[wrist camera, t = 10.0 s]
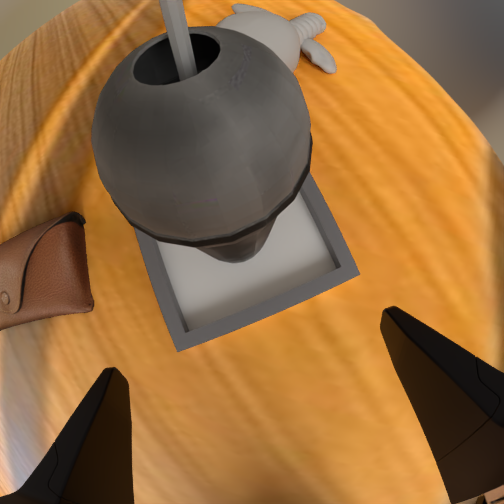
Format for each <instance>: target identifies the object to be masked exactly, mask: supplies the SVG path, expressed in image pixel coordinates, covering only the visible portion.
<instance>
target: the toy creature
mask: <svg viewBox="0 0 504 504" xmlns="http://www.w3.org/2000/svg"><path fill="white" fill-rule="evenodd" d="M232 9H233V11H234V12H235V13H236V14H233V15H230V16H228V17H226V18H224V19H223V20H222V21H220V22H219V23H218V24H217V25H216V26H215V27H220V28H226V29H231V30H235V31H238V32H240V33H243V34H245V35H247V36H249V37H251V38H253V39H255V40H257V41H259V42H261V43H263V44H264V45H266V46H267V47H268V48H270V49H271V50H272V51H273V52H274V53H275V54H276V55H277V56H278V57H279V58H280V59H281V60H282V61H283V62H284V63H285V64H286V66H287V67H288V68H289V69H290V70H291V72H292V73H293V72H294V70H295V69H296V67H297V64H298V61H299V57H300V48H301V50H302V52H303V53H305V55H306V56H307V57H308V58H309V59H310V60H311V62H312V63H313V64H316V65H318V66H320V67H321V68H322V69H323V70H324V71H325V72H326V73H329V74H333V73H335V72H336V70H337V67H336V64H335V61H334V58H333V57H332V55H331V54H330V53H329V52H328V51H327V50H326V49H325V48H324V47H323V46H322V45H321V44H319V43H318V42H316V41H314V40H313V38H314V37H316V35H317V34H320V33H322V32H324V30H325V29H326V22H325V20H324V19H323V18H322V17H321V16H320V15H318V14H315V13H305V14H303V15H300V16H298V17H296V18H294V19H292V20H290V21H288V20H286V19H285V18H283V17H281V16H279V15H276V14H273V13H271V12H269V11H267V10H265V9H262V8H259V7H254V6H250V5H245V4H234V5H233V6H232Z"/></svg>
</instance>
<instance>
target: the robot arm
mask: <svg viewBox="0 0 504 504" xmlns="http://www.w3.org/2000/svg"><path fill="white" fill-rule="evenodd" d="M380 330H381V333H382V336H383V338H384V341H385V344H386V346H387V349H388V352H389V355H390V357H391V360H392V363H393V366H394V368H395V371H396V373H397V375H398V377H399V379H400V381H401V383H402V385H403V387H404V389H405V392H406V394H407V396H408V398H409V400H410V402H411V405H412V407H413V409H414V411H415V413H416V416H417V418H418V420H419V422H420V425H421V427H422V429H423V432H424V434H425V436H426V439H427V441H428V443H429V446H430V448H431V451H432V453H433V456H434V458H435V461H436V464H437V466H438V469H439V471H440V474H441V477H442V479H443V482H444V485H445V488H446V490H447V493H448V496H449V499H450V502H451V504H456V503H459V502H462V501H465V500H468V499H471V498H474V497H476V496H479V495H481V494H482V495H481V496H479V497H478V499H477V501H476V504H504V373H503V372H501V371H499V370H497V369H495V368H494V367H492V366H491V365H489V364H487V363H486V362H484V361H483V360H481V359H480V358H478V357H475V355H473V354H472V353H470V352H469V351H467V350H465V349H464V348H462V347H461V346H459V345H458V344H456V343H454V342H453V341H451V340H450V339H448V338H447V337H445V336H443V335H442V334H440V333H439V332H437V331H435V330H434V329H432V328H431V327H429V326H427V325H426V324H424V323H423V322H421V321H419V320H418V319H416V318H414V317H413V316H411V315H410V314H408V313H406V312H405V311H403V310H401V309H400V308H398V307H396V306H391V307H388V308H385V309H384V310H383V312H382V318H381V323H380ZM0 504H134V493H133V475H132V422H131V409H130V396H129V384H128V381H127V379H126V378H125V377H124V376H123V375H122V374H121V372H120V371H119V370H118V369H117V368H115V367H111V368H105V369H104V370H103V371H102V373H101V374H100V376H99V377H98V378H97V380H96V381H95V383H94V384H93V385H92V387H91V388H90V390H89V391H88V392H87V394H86V395H85V397H84V398H83V400H82V401H81V403H80V404H79V405H78V407H77V408H76V410H75V411H74V413H73V414H72V416H71V417H70V419H69V420H68V422H67V423H66V425H65V426H64V428H63V429H62V431H61V432H60V434H59V435H58V437H57V438H56V440H55V442H54V443H53V444H52V446H51V447H50V449H49V451H48V452H47V453H46V455H45V456H44V458H43V459H42V461H41V462H40V463H39V465H38V466H37V467H36V469H35V470H34V471H33V473H32V474H31V475H30V477H29V478H28V479H27V480H26V482H25V483H24V484H23V486H22V487H21V488H20V489H19V490H17V491H16V492H14V493H11V494H8V495H5V496H2V497H0Z"/></svg>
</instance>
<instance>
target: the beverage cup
mask: <svg viewBox="0 0 504 504" xmlns="http://www.w3.org/2000/svg"><path fill="white" fill-rule="evenodd" d="M159 3H160V7H161V10H162V14H163V18H164V22H165V26H166V30H167V32H166V33H163V34H161V35H159V36H156V37H154V38H152V39H150V40H149V41H147V42H145V43H144V44H142V45H141V46H139V47H138V48H136V49H135V50H134V51H132V52H131V53H130V54H129V55H128V56H127V57H126V58H125V59H124V60H123V61H122V62H121V63H120V64H119V65H118V66H117V67H116V68H115V70H114V71H113V73H112V74H111V76H110V78H109V79H108V81H107V83H106V84H105V86H104V88H103V90H102V91H101V93H100V95H99V98H98V102H97V105H96V109H95V114H94V119H93V125H92V146H93V151H94V156H95V161H96V165H97V169H98V173H99V177H100V179H101V181H102V183H103V185H104V187H105V188H106V190H107V191H108V192H109V194H110V195H111V198H112V200H113V202H114V204H115V205H116V206H117V208H118V209H119V210H120V211H121V213H122V214H123V215H124V217H125V218H126V219H127V220H128V222H129V223H130V224H131V226H133V227H135V228H136V229H138V230H140V231H142V232H143V233H145V234H147V235H148V236H150V237H152V238H154V239H155V240H157V241H159V242H164V243H170V244H176V245H181V246H187V247H193V248H197V249H198V250H200V251H202V252H204V253H206V254H208V255H209V256H211V257H213V258H215V259H217V260H219V261H223V262H228V263H240V262H245V261H247V260H249V259H251V258H253V257H254V256H255V255H256V254H257V253H258V252H259V251H260V250H261V248H262V247H263V246H264V244H265V242H266V240H267V238H268V236H269V234H270V232H271V230H272V227H273V225H274V223H275V220H276V218H277V216H278V215H279V214H280V213H281V212H282V211H283V210H284V209H286V208H287V207H288V206H289V205H290V204H291V203H292V202H293V201H294V200H295V198H296V196H297V194H298V192H299V190H300V189H301V187H302V185H303V183H304V181H305V179H306V177H307V175H308V173H309V171H310V163H311V153H312V144H313V141H312V136H311V132H310V127H311V123H310V116H309V112H308V108H307V105H306V102H305V99H304V96H303V93H302V90H301V88H300V85H299V83H298V81H297V79H296V77H295V76H294V74H293V73H292V72H291V70H290V69H289V68H288V67H287V66H286V64H285V63H284V62H283V61H282V60H281V59H280V58H279V57H278V56H277V55H276V54H275V53H274V52H273V51H272V50H271V49H270V48H268V47H267V46H266V45H264V44H263V43H261V42H259V41H257V40H255V39H253V38H251V37H249V36H247V35H245V34H243V33H240V32H238V31H235V30H231V29H226V28H220V27H215V26H201V27H188V26H187V22H186V17H185V12H184V7H183V2H182V0H159Z"/></svg>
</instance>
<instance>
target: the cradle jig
mask: <svg viewBox="0 0 504 504" xmlns="http://www.w3.org/2000/svg"><path fill="white" fill-rule="evenodd" d="M134 229H135V233H136V236H137V240H138V243H139V246H140V250H141V253H142V256H143V259H144V262H145V266H146V269H147V272H148V275H149V278H150V281H151V284H152V287H153V289H154V292H155V295H156V298H157V301H158V304H159V306H160V309H161V312H162V314H163V317H164V320H165V322H166V325H167V327H168V330H169V333H170V335H171V338H172V340H173V343H174V345H175V347H176V350H177V352H180V351H182V350H185V349H188V348H191V347H193V346H196V345H199V344H201V343H204V342H207V341H209V340H212V339H214V338H217V337H220V336H222V335H225V334H227V333H230V332H232V331H235V330H237V329H240V328H242V327H245V326H247V325H250V324H252V323H254V322H257V321H259V320H262V319H264V318H266V317H269V316H271V315H273V314H276V313H278V312H280V311H283V310H285V309H287V308H289V307H292V306H294V305H296V304H298V303H301V302H303V301H305V300H307V299H310V298H312V297H314V296H316V295H318V294H320V293H323V292H325V291H327V290H329V289H331V288H333V287H335V286H337V285H339V284H342V283H344V282H346V281H348V280H350V279H352V278H354V277H356V276H358V275H360V273H359V270H358V268H357V266H356V264H355V261H354V259H353V257H352V255H351V253H350V251H349V248H348V246H347V244H346V242H345V240H344V238H343V236H342V234H341V232H340V230H339V228H338V226H337V223H336V221H335V219H334V217H333V215H332V213H331V212H330V210H329V208H328V206H327V204H326V202H325V200H324V198H323V196H322V194H321V192H320V190H319V188H318V187H317V185H316V183H315V181H314V179H313V177H312V175H311V174H310V172H309V173H308V175H307V177H306V179H305V181H304V183H303V185H302V187H301V189H300V190H299V192H298V194H297V196H296V198H295V200H294V201H293V202H292V203H291V204H290V205H289V206H288V207H287V208H286V209H284V210H283V211H282V212H281V213H280V214H279V215H278V216H277V218H276V220H275V223H274V225H273V227H272V230H271V232H270V234H269V236H268V238H267V240H266V242H265V244H264V246H263V247H262V248H261V250H260V251H259V252H258V253H257V254H256V255H255V256H254V257H253V258H251V259H249V260H247V261H245V262H240V263H228V262H223V261H219V260H217V259H215V258H213V257H211V256H209V255H208V254H206V253H204V252H202V251H200V250H198V249H197V248H193V247H187V246H181V245H176V244H170V243H164V242H159V241H157V240H155V239H154V238H152V237H150V236H148V235H147V234H145V233H143V232H142V231H140V230H138V229H136V228H135V227H134Z"/></svg>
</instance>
